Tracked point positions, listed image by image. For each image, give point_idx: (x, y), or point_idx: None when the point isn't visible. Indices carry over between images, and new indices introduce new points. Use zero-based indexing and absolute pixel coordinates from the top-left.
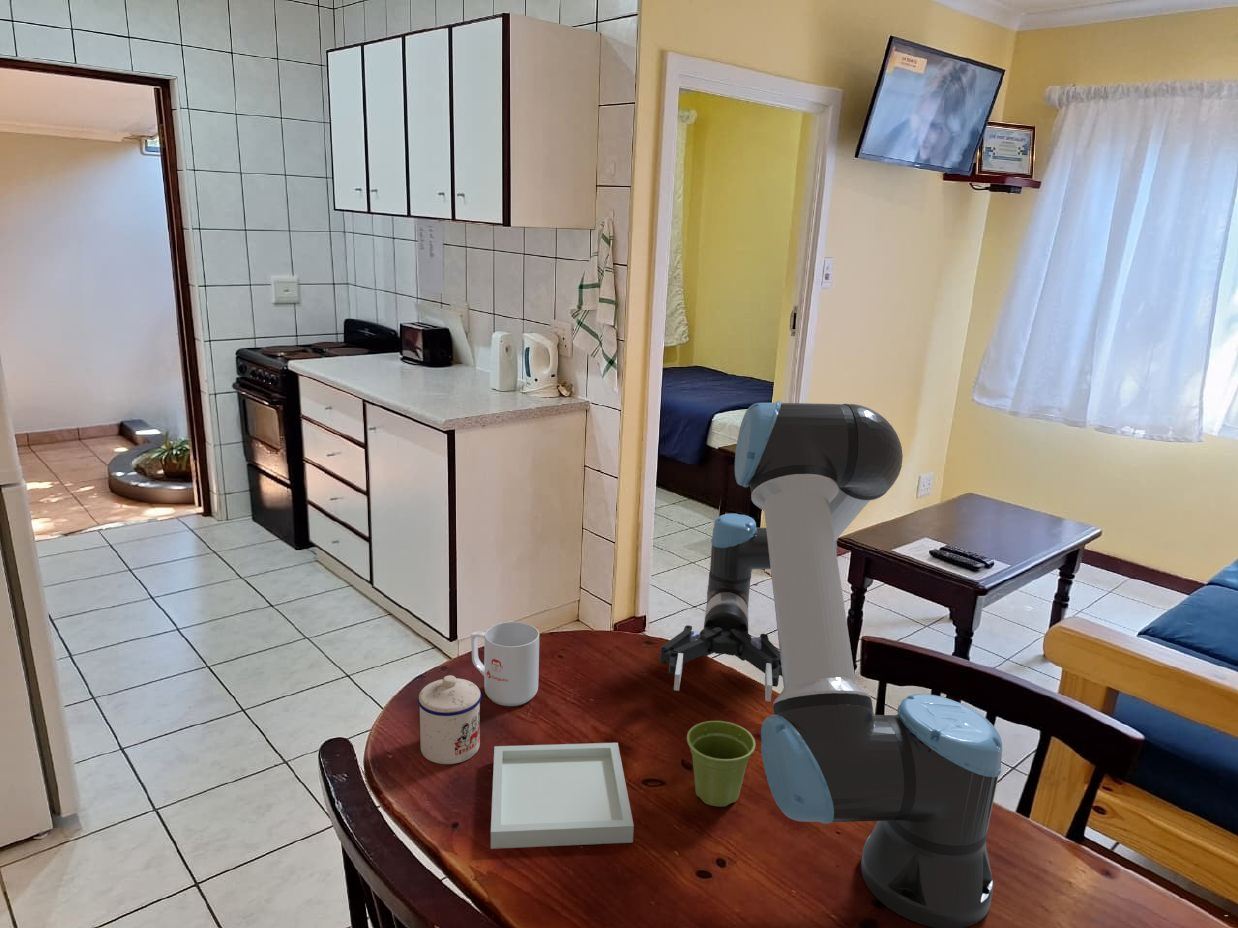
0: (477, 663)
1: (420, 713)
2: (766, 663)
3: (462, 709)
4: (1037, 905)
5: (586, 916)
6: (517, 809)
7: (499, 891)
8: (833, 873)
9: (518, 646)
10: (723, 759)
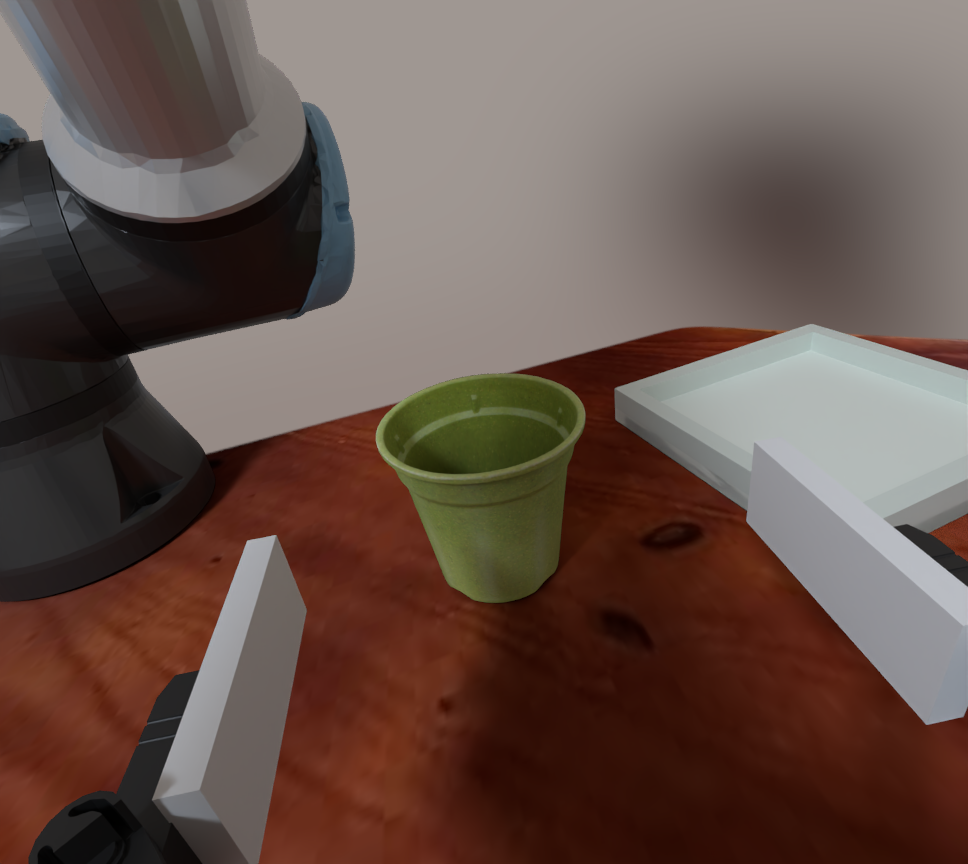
0: None
1: None
2: (202, 776)
3: None
4: None
5: (606, 348)
6: (844, 378)
7: (728, 333)
8: (265, 482)
9: None
10: (459, 379)
